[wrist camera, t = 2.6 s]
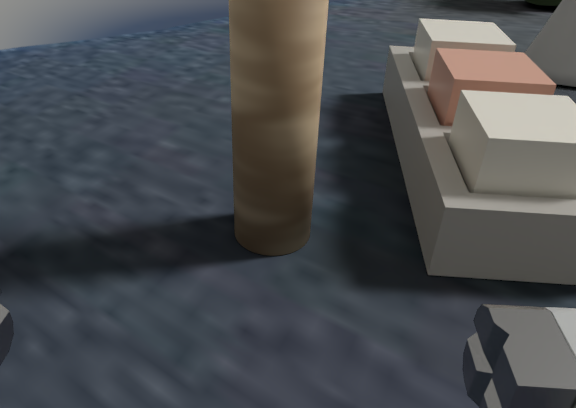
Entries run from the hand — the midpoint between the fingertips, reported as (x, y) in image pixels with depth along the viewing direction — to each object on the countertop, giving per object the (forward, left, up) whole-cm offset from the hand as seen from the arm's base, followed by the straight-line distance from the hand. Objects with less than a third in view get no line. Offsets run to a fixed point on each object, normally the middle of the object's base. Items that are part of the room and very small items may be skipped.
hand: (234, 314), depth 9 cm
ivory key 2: (+11, +15, -5) cm, 19 cm away
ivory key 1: (+11, +28, -5) cm, 30 cm away
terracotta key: (+11, +21, -5) cm, 24 cm away
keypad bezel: (+11, +21, -8) cm, 25 cm away
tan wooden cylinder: (0, +13, -8) cm, 16 cm away
